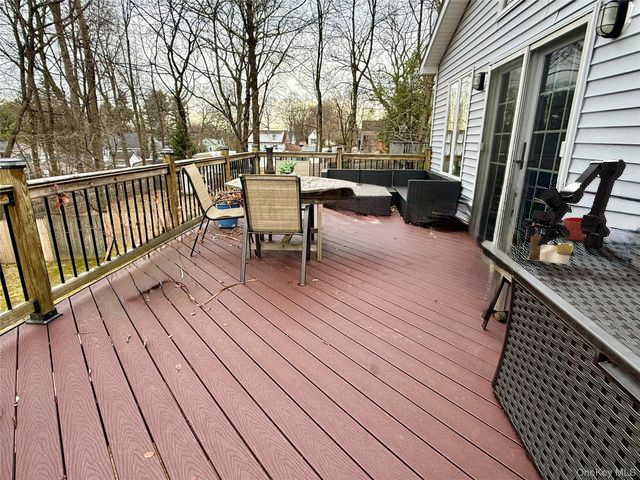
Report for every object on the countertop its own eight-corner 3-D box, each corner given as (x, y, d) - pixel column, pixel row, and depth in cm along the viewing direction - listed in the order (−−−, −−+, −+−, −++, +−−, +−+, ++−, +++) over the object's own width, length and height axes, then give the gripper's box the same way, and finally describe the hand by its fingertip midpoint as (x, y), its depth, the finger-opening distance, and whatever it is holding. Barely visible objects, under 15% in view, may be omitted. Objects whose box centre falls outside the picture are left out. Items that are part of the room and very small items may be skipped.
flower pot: (563, 240, 167) (565, 221, 165) (560, 235, 177) (562, 217, 174) (590, 241, 162) (592, 221, 160) (585, 236, 172) (587, 217, 169)
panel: (584, 250, 151) (584, 248, 151) (579, 267, 132) (579, 265, 132) (527, 245, 165) (527, 243, 165) (515, 260, 146) (515, 258, 146)
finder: (571, 251, 148) (572, 243, 147) (570, 253, 145) (571, 245, 145) (558, 250, 152) (558, 242, 151) (556, 252, 149) (557, 244, 148)
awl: (540, 257, 144) (543, 228, 141) (538, 260, 141) (541, 230, 138) (530, 256, 146) (532, 228, 143) (528, 259, 144) (530, 229, 140)
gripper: (526, 200, 148) (504, 228, 148) (567, 205, 130) (543, 237, 130) (539, 215, 152) (518, 243, 152) (581, 222, 134) (557, 253, 134)
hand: (532, 244), depth 142 cm, fingers open, 5 cm apart
